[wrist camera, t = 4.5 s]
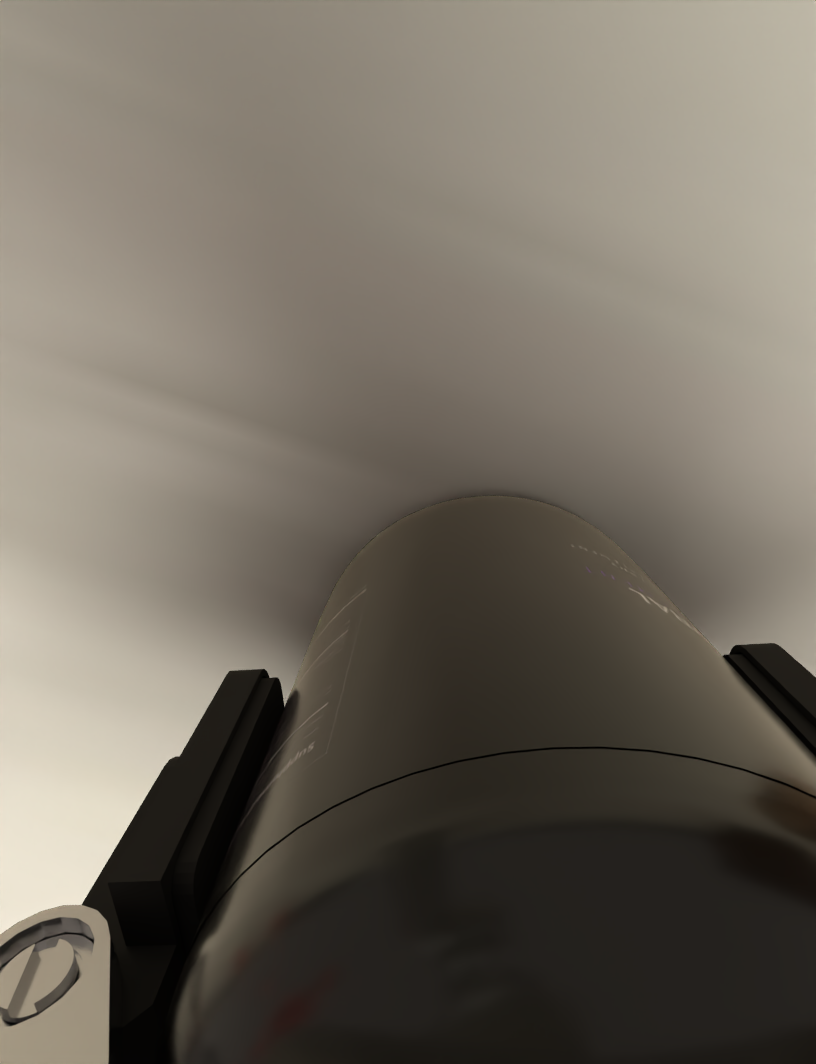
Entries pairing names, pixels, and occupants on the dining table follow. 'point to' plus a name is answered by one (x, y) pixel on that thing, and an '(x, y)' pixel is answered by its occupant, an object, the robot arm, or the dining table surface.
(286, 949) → the supplement bottle
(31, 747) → the dining table surface
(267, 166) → the dining table surface
